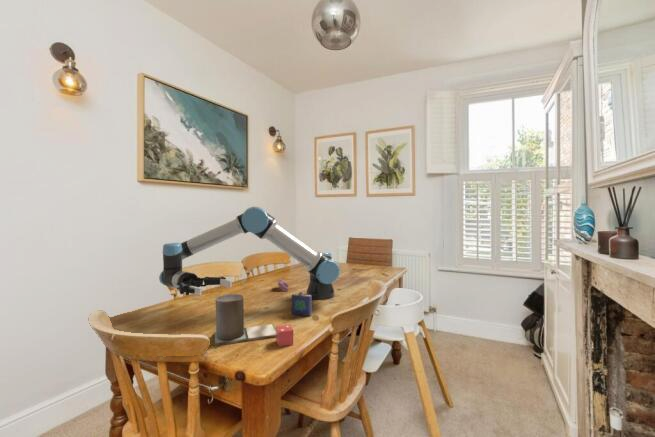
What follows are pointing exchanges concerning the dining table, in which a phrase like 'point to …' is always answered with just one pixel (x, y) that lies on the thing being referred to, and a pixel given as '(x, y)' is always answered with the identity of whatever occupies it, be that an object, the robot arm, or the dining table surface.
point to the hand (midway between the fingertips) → (216, 287)
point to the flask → (301, 304)
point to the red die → (284, 335)
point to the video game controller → (283, 285)
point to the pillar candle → (229, 316)
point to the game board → (250, 335)
